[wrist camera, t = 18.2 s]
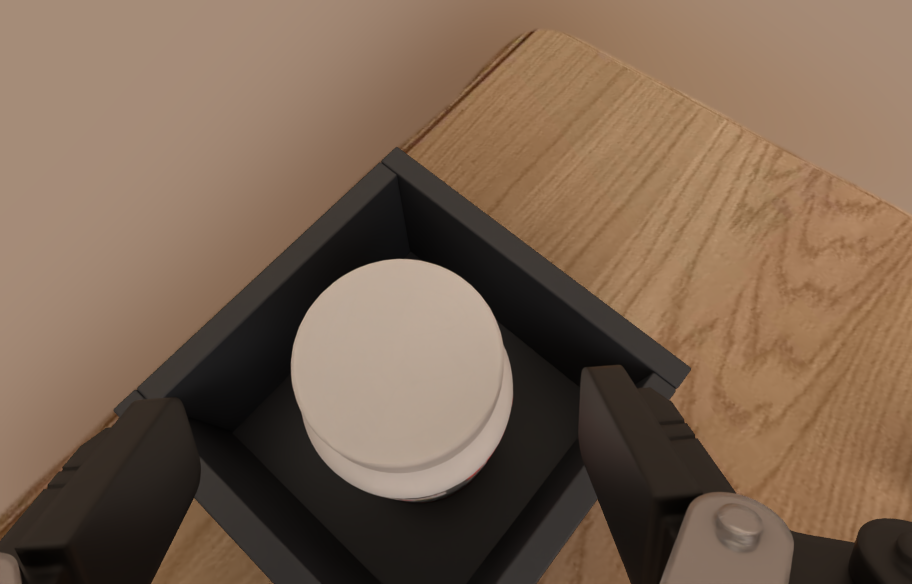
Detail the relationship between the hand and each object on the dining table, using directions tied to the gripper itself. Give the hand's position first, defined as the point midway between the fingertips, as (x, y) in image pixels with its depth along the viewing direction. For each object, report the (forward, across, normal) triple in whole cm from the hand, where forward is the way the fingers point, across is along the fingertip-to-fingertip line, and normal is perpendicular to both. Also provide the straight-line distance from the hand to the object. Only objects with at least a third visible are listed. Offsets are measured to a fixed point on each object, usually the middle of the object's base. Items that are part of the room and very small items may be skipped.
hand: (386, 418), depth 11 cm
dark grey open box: (+9, 0, +7) cm, 11 cm away
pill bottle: (+8, 0, +6) cm, 10 cm away
